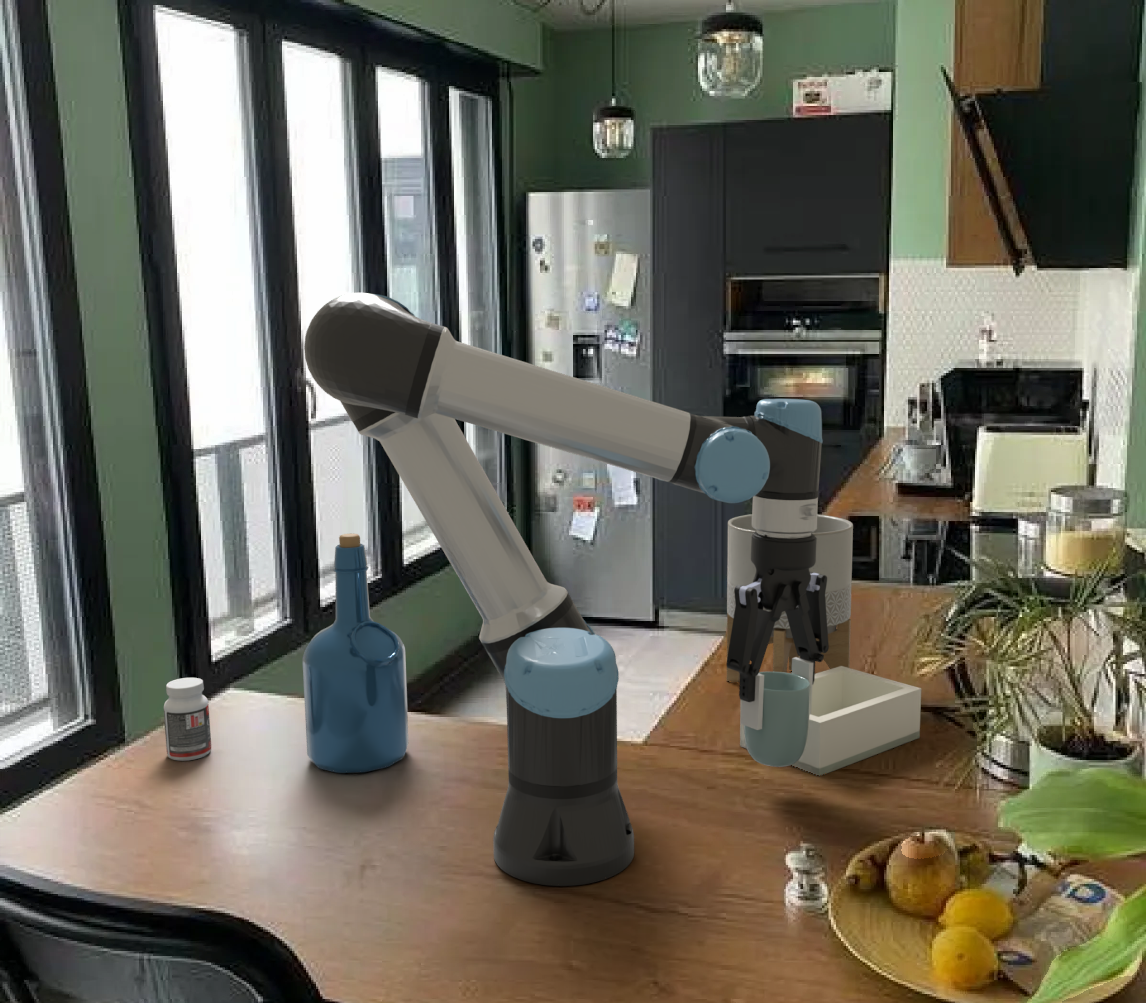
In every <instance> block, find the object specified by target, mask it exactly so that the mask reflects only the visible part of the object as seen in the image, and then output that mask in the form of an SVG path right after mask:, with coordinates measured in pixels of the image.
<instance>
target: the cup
mask: <svg viewBox="0 0 1146 1003" xmlns="http://www.w3.org/2000/svg"><path fill="white" fill-rule="evenodd" d="M759 674H762V675H764V692H763V717H762V729H760V730H756V729H753V728H750V727H748V726H745V725H744V735H745V743H746V747H747V749H746V750H747V752H748V754H749V756H750V757H751V758H752V760H754V761H755V762H757V763H758V764H761V765H763V766H769V767H777V768H783V767H785V768H786V767H788V766H791V765H792V764H794V763H796V762H797V761H798V760H799V759H800V758H801V756H802V754H803V752H804V749H805V746H806V742H807V737H808V729H809V718H810V699H811V686H810V682H809V681H808V679H806V678H805V677H802V676H800V675H796V674H792V673H790V672H787V673H785V672H773V671H759Z"/></svg>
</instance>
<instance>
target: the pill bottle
mask: <svg viewBox="0 0 1146 1003" xmlns="http://www.w3.org/2000/svg"><path fill="white" fill-rule="evenodd" d="M165 688H166V690H165V692H166V695H167V696H168V699H167V700H166V701H165V702H164V705H163V717H164V731H165V732H164V733H165V734H164V735H165V746H166V747H165V748H166V755H167V757H168V758H169V759H171V760H174V761H179V762H180V761H181V762H186V761H194V760H198V759H201V758H205V757H206V756H208V755H209V754H210V753H211V751H212V738H211V737H212V736H211V735H212V734H211V721H210V720H211V719H210V708H209V700H208V698H207V697H206V696H205V695H204V694H203V691H204V689H205V686H204V680H203V679H201V678H199V677H198V678H197V677H183V678H181V677H180V678H177V679H174V680H171V681H169V682H167V684H166V687H165Z"/></svg>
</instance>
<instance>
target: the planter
mask: <svg viewBox="0 0 1146 1003" xmlns="http://www.w3.org/2000/svg"><path fill="white" fill-rule="evenodd" d="M853 529H854V524H853V522H851V521H850V520H847V519H845V518H841V517H837V516H832V515H825V514H818V513H817V529H816V530H815V531H813V532H811V533H812V534H814V535H815V537H816V538H817V545H816V563H815V565H814V566H813V567H811V568H809V571H810V572H813V573H817V574H822V575H826V576H827V585H826V591H825V601H826V615H827V630H828V644H829V649H828V651H827V652H826V653H823V652H822V653H821V654H823V655H824V658H823V660H822V661H824V662H825V663H826V664H827V667H828V668H829V669H833V668H836V667H839V666H844V667H847V668H850V661H851V660H850V658H851V656H850V655H851V626H852V625H851V615H852V614H851V613H852V612H851V611H852V610H851V609H852V579H853V578H852V576H853V574H852V573H853V540H854V537H853V535H854V534H853V533H854V530H853ZM755 531H757V530H756V529H754V528H753V527H752V514H751V513H750V514H745V515H740V516H735V517H732V518H730V519H729V520H728V521H727V567H726V568H727V571H726V572H727V574H726V576H727V577H726V578H727V580H726V582H727V583H726V584H727V585H726V586H727V587H726V600H727V601H726V613H727V614H726V616H727V619H726V658H727V657H728V651H729V644H730V638H731V631H732V625H733V619H734V612H735V606H736V603H735V593H734V589H735V587H736V586H737V585H742V586H747V585H749V584H751V583H753V579H754V577H755V574H756V567H755V565H754V564H753V563H752V561H751V537H752V534H753V533H754V532H755ZM763 610H765V611H769V612H771V611H770V610H766V609H765V608H764V607H763ZM816 641H819V639H816ZM769 644H773V645H772V646H773V647H772V648H773V649H772V650H773V651H772V652H773V654H772V656H773V657H772V672H785V673H788V671H789V670H792V658H795V657H797V658H800V656H798V654H797V651H796V648H795V644H794V640H793V637H792V633H791V629H790V626H789V622H788V619H787V615H786V612H785V611H784V612H782V614H781V617H780V619H779V620H778V621H776V622H775V624H774V628H773V631H772V634H771V637H770V640H769V643H768V645H769ZM727 681H729V682H728V683H734V682H738V683H740V674H739V672H738V671H735V670H732V669H729V668H727V667H726V682H727ZM730 681H731V682H730Z"/></svg>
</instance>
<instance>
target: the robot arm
mask: <svg viewBox="0 0 1146 1003" xmlns="http://www.w3.org/2000/svg"><path fill="white" fill-rule="evenodd" d="M303 344H304V345H303V349H304V350H303V351H304V359H305V363H306V366H307V369H308V371H309V373H310V375H311V377H312V379H313V380H314V381H315V383H316V384H317V385H318V386H319V388H321V390H322V391H324V393H326V394H327V395H329V396H330V397H332V398H333V399H336V400H338V401H339V402H340V404H341V405H342V406H343V408H344V410H345V412H346V414H347V415H348V417H349V418H350V420H351V422H352V423H353V425H354V427H355V428H356V431H357V432H358V434H359V435H361V436H364V437H368V438H372V439H374V440H376V441H379V443H380V444H381V447H383V450H384V452H385V453H386V455H387V456H388V458H389V460H390V462H391V464H392V465H393V466H394V469H395V471H396V472H397V474H398V475H399V477H400V479H401V481H402V483H403V484H404V485H405V487H406V489H407V491H408V492H409V495H410V496H411V498H412V499H413V501H414V503H415V504H416V506H417V508H418V510H419V512H420V513H421V515H422V517H423V518H424V520H425V522H426V524H427V525H428V527H429V529H430V530H431V532H432V534H433V536H434V538H435V539H436V541H437V542H438V544H439V545H440V548H441V550H442V551H443V552H444V554H445V557H446V558H447V560H448V561H449V563H450V565H451V567H452V569H453V570H454V572H455V573H456V575H457V576H458V578H459V581H460V582H461V583H462V585H463V588H464V589H465V591H466V592H467V594H468V596H469V597H470V599H471V601H472V603H473V604H474V606H475V608H476V610H477V611H478V613H479V615H480V616H481V618H482V625H481V629H480V633H479V636H478V639H479V640H480V643H481V644H482V646H483V648H484V650H485V651H486V653H487V655H488V656H489V658H490V659H491V661H492V663H493V665H494V666H495V668H496V670H497V672H498V674H499V675H500V677H501V679H502V681H503V682H504V684H505V697H506V698H505V700H506V701H505V702H506V721H507V722H506V724H507V727H506V728H507V732H506V733H507V734H506V735H507V768H508V769H507V770H508V771H507V772H508V773H507V774H508V783H507V784H508V786H507V789H506V793H505V796H504V800H503V804H502V807H501V811H500V815H499V818H498V822H497V825H496V826H495V830H494V832H493V838H492V839H493V840H492V841H493V842H492V844H493V845H492V846H493V860H494V861H495V864H496V865H497V866H498V867H499V868H500V870H502V871H503V872H504V873H506V874H507V875H509V876H511V877H513V878H516V879H518V880H521V881H523V882H527V883H530V884H531V883H532V884H535V885H543V886H552V887H553V886H554V887H559V886H560V887H567V886H568V887H569V886H580V885H581V886H582V885H587V884H592V883H593V884H594V883H597V882H601V881H604V880H607V879H609V878H612V877H614V876H616V875H617V874H619V873H621V872H623V871H624V870H625V869H626V868H628V867H629V865H630V864H631V863H632V861H633V859H634V856H635V834H634V829H633V826H632V824H631V821H630V817H629V814H628V812H627V809H626V805H625V803H624V799H623V797H622V793H621V791H620V788H619V785H618V712H617V711H618V703H617V700H618V696H617V695H618V694H617V689H618V684H619V678H620V677H619V676H620V673H619V668H618V665H617V658H616V657H617V656H616V652H615V650H614V648H613V646H612V645H611V643H610V642H609V641H608V640H606V639H605V638H604V637H603V636H601V635H599V634H596V633H595V631H594V629H592V627H591V625H590V624H587V621H586V620H584V618H583V617H582V614H581V613H580V612H579V609H578V607H577V606H576V604H575V602H574V600H573V599H572V597H571V595H570V594H569V592H568V590H567V589H566V588H565V587H564V586H560V585H557V584H553V583H550V582H548V581H547V579H546V578H545V576H544V574H543V573H542V570H541V569H540V567H539V565H538V563H537V562H536V561H535V559H534V556H533V555H532V553H531V550H529V547H528V545H527V544H526V543H525V540H524V539H523V537H522V536H521V533H520V532H519V530H518V529H517V527H516V525H515V523H514V521H513V519H512V518H511V516H510V514H509V513H508V511H507V509H506V507H505V505H504V504H503V501H502V500H501V498H500V497H499V495H498V493H497V491H496V490H495V488H494V486H493V484H492V482H491V481H490V479H489V477H488V475H487V473H486V472H485V470H484V467H483V466H482V465H481V463H480V461H479V459H478V458H477V456H476V454H475V452H474V450H473V449H472V446H471V445H470V443H469V442H468V440H467V438H466V437H465V435H464V432H463V431H462V430H461V428H460V426H459V425H458V422H457V421H456V420H458V421H461V422H464V423H468V424H471V425H474V426H477V427H482V428H484V429H487V430H491V431H493V432H494V431H495V432H498V433H501V434H505V435H508V436H511V437H515V438H519V439H522V440H525V441H529V442H532V443H536V444H539V445H543V446H546V447H549V448H552V449H556V450H559V451H562V452H566V453H568V454H573V455H576V456H580V457H582V458H586V459H590V460H593V461H596V462H599V463H603V464H606V465H610V466H614V467H617V468H621V469H623V470H627V471H629V472H632V473H637V474H641V475H643V476H647V477H651V478H653V479H657V480H658V481H662V482H667V483H671V484H673V485H675V486H680V487H683V488H686V489H689V490H692V491H696V492H699V493H702V494H705V495H706V496H707V497H709V498H710V499H712V500H715V501H718V502H723V503H728V504H738V503H742V502H746V501H748V500H750V499H752V509H751V510H752V511H751V512H752V527H753V528H754V529H756V530H757V531H755V532H754V533H753V534H752V537H751V561H752V563H753V564H754V565H755V567H756V574H755V577H754V579H753V583H751V584H749V585H747V586H742V585H737V586H736V587H735V589H734V593H735V603H736V606H735V612H734V619H733V625H732V631H731V638H730V644H729V651H728V657H727V656H726V669H727V668H729V669H732V670H735V671H738V672H739V674H740V680H739V690H738V696H739V700H740V704H741V724H743V725H745V726H748V727H750V728H753V729H756V730H760V729H762V717H763V692H764V675H762V674H759V672H761V671H760V670H761V667H762V665H763V661H764V659H765V658H764V657H765V655H766V652H767V648H768V645H769V644H768V643H769V640H770V637H771V634H772V631H773V628H774V624H775V622H776V621H778V620H779V619H780V617H781V614H782V612H784V611H785V612H786V615H787V619H788V622H789V626H790V629H791V633H792V637H793V640H794V644H795V648H796V651H797V654H798V656H800V658H797V657H795V658H792V672H791V671H790V672H791V673H792V674H796V675H800V676H802V677H805V678H806V679H808V681H809V682H810V686H811V699H810V714H811V704H812V685H813V683H814V678H815V676H814V675H815V674H816V662H817V663H822V662H823V661H824V660H823V658H824V655H823V654H821V653H822V652H823V653H826V652H827V651H828V649H829V644H828V630H827V615H826V601H825V591H826V585H827V576H826V575H822V574H817V573H813V572H810V571H809V568H811V567H813V566H814V565H815V563H816V545H817V538H816V537H815V535H814V534H812V533H811V532H813V531H815V530H816V529H817V514H818V505H819V502H818V501H819V487H820V486H819V484H820V472H821V458H822V446H823V445H822V444H823V441H824V440H823V419H822V408H821V407H820V405H819V404H818V403H817V402H816V401H813V400H809V399H800V398H799V399H798V398H764V399H761V400H759V401H758V402H757V404H756V407H755V408H756V409H755V411H754V415H748V416H741V417H739V416H738V417H737V416H713V415H711V416H710V415H709V416H705V415H704V416H703V415H701V416H700V415H698V414H697V415H696V414H693V413H690V412H688V411H684V410H681V409H678V408H675V407H672V406H669V405H666V404H662V403H659V402H655V401H652V400H649V399H645V398H642V397H639V396H636V395H633V394H630V393H627V392H626V393H625V392H623V391H620V390H616V389H614V388H610V387H607V386H604V385H601V384H597V383H593V382H590V381H587V380H585V379H580V378H577V377H574V376H571V375H568V374H564V373H561V372H558V371H555V370H552V369H548V368H545V367H542V366H539V365H535V364H532V363H529V362H526V361H522V360H519V359H516V358H512V357H509V356H506V355H503V354H500V353H496V352H494V351H490V350H486V349H483V348H480V347H477V346H473V345H471V344H467V343H465V342H460V341H457V340H456V339H455V338H454V336H453V335H452V333H451V331H450V330H449V328H448V327H446V326H444V325H440V324H437V323H432V322H431V321H428V320H425V319H421V318H419V317H417V316H416V315H415V314H414V313H413V312H411V311H410V310H409V307H407V306H405V305H404V304H402V303H401V302H400V301H398V300H396V299H394V298H392V297H388V296H386V295H382V294H378V293H377V294H375V293H369V292H368V293H367V292H351V293H347V294H343V295H340V296H337V297H335V298H333V299H332V300H330V301H328V302H326V303H325V304H324V305H323V306H322V307H321V308H320V309H318V310H317V312H316V313H315V314H314V316H313V317H312V319H311V320H310V323H309V325H308V327H307V329H306V332H305V337H304V343H303ZM763 607H764V608H765V609H766V610H770V611H771V612H769V611H765V610H763ZM816 639H819V641H816Z"/></svg>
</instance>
